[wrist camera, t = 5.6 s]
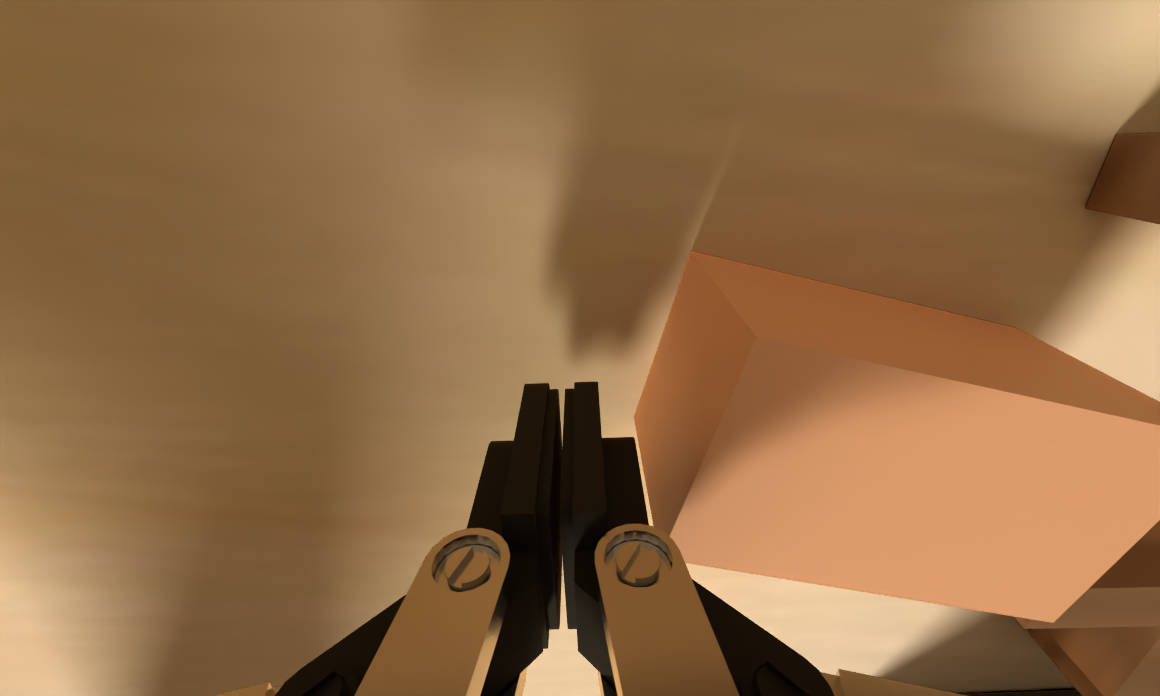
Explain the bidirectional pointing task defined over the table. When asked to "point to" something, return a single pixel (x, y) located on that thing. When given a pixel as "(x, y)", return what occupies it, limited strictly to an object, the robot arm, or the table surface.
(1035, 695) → the small box
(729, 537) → the block
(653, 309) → the table surface
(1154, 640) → the brown notched pieces
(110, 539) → the table surface
